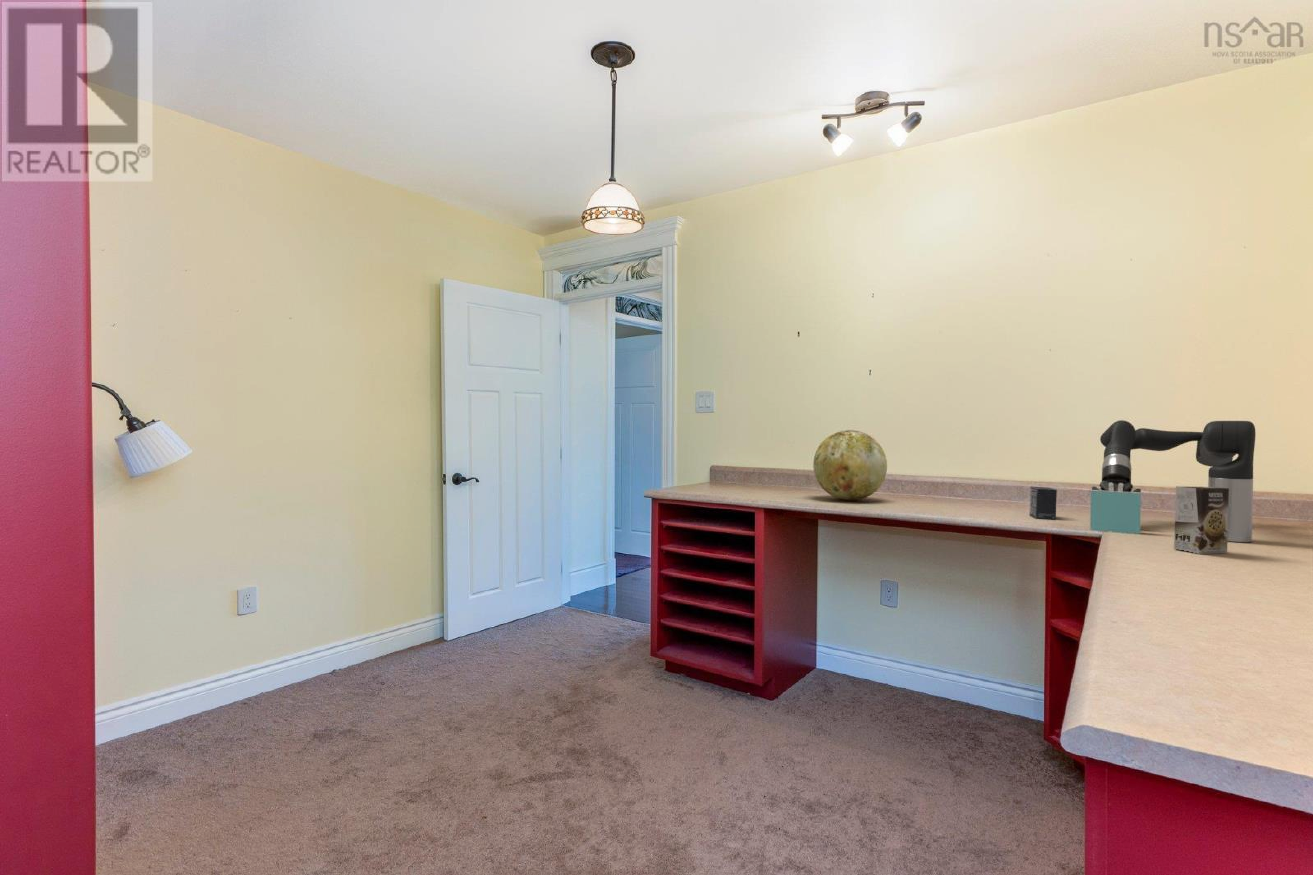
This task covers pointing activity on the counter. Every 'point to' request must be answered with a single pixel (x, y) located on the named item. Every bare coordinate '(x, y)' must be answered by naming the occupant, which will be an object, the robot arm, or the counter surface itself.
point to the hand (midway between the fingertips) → (1115, 513)
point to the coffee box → (1201, 519)
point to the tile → (1115, 511)
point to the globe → (850, 465)
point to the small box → (1043, 503)
